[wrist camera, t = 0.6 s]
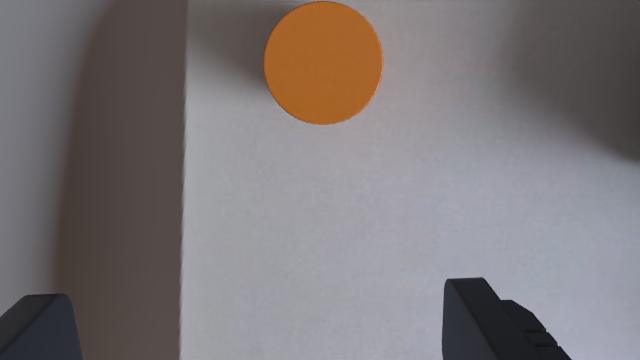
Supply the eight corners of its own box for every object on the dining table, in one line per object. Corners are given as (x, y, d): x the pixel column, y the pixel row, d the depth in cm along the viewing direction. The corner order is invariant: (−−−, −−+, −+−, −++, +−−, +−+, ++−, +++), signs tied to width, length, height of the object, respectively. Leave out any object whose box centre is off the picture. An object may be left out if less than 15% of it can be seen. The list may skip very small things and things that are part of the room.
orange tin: (282, 4, 26) (273, -11, 20) (373, 22, 27) (395, 14, 20) (267, 97, 28) (254, 113, 21) (355, 113, 28) (369, 134, 21)
